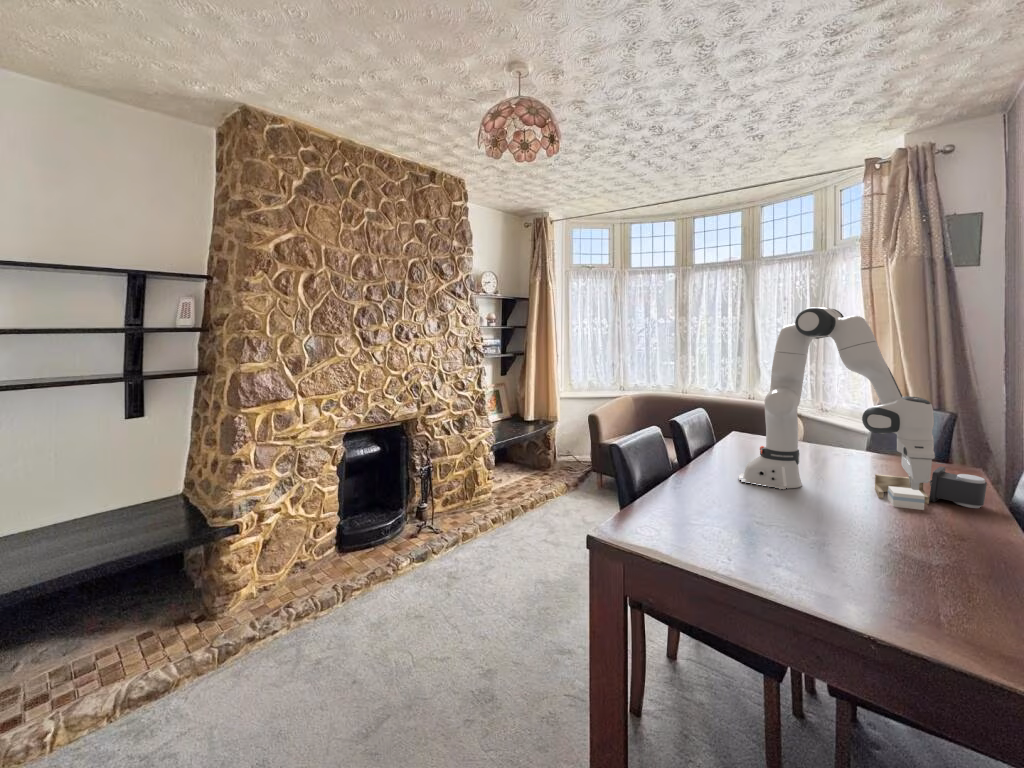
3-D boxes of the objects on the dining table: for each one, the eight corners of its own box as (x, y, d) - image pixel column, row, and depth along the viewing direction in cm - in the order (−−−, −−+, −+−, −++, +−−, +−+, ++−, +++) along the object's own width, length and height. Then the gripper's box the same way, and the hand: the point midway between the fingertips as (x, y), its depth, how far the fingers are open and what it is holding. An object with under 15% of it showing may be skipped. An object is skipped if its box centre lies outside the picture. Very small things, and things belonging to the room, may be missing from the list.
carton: (892, 507, 153) (893, 492, 153) (887, 499, 160) (888, 485, 160) (924, 510, 149) (924, 496, 149) (917, 502, 156) (917, 488, 156)
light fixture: (979, 513, 146) (984, 481, 144) (925, 501, 156) (929, 471, 155) (986, 505, 152) (990, 475, 151) (934, 494, 163) (937, 465, 161)
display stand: (878, 498, 161) (879, 481, 160) (874, 489, 170) (875, 474, 169) (928, 504, 154) (929, 487, 153) (921, 494, 163) (922, 478, 162)
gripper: (896, 439, 155) (895, 479, 156) (908, 453, 138) (908, 496, 139) (920, 441, 152) (919, 480, 153) (936, 454, 135) (935, 499, 136)
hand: (914, 488), depth 146 cm, fingers closed
